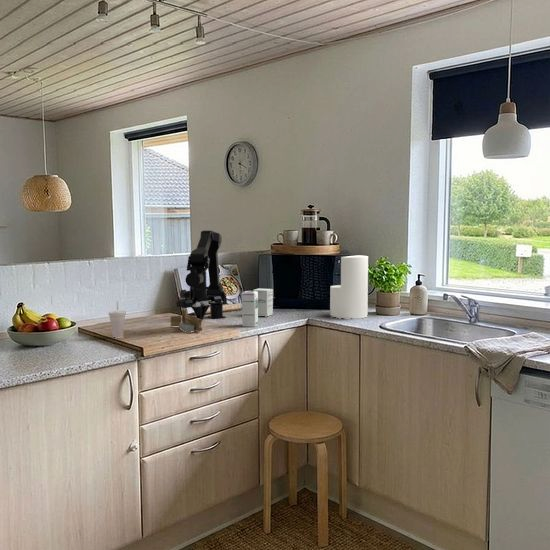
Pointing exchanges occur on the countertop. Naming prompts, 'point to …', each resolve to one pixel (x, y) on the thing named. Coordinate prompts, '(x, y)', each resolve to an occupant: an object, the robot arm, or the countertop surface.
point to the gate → (194, 322)
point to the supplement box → (265, 302)
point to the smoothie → (117, 322)
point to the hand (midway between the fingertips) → (200, 322)
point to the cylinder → (351, 289)
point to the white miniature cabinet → (250, 308)
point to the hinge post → (178, 318)
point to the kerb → (186, 326)
